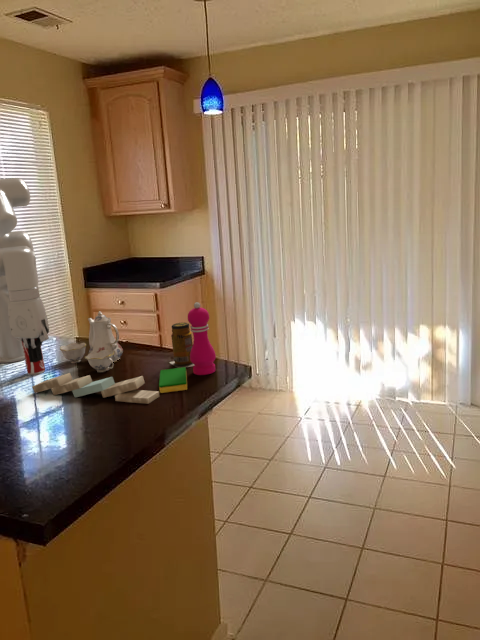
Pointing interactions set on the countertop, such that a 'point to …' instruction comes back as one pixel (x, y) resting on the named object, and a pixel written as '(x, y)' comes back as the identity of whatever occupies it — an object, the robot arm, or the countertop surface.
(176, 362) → the condiment
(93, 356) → the chinaware
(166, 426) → the countertop surface
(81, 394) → the tile
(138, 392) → the tile
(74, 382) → the tile
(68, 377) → the tile
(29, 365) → the soda can
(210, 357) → the pepper mill
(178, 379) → the dish sponge
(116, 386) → the tile
